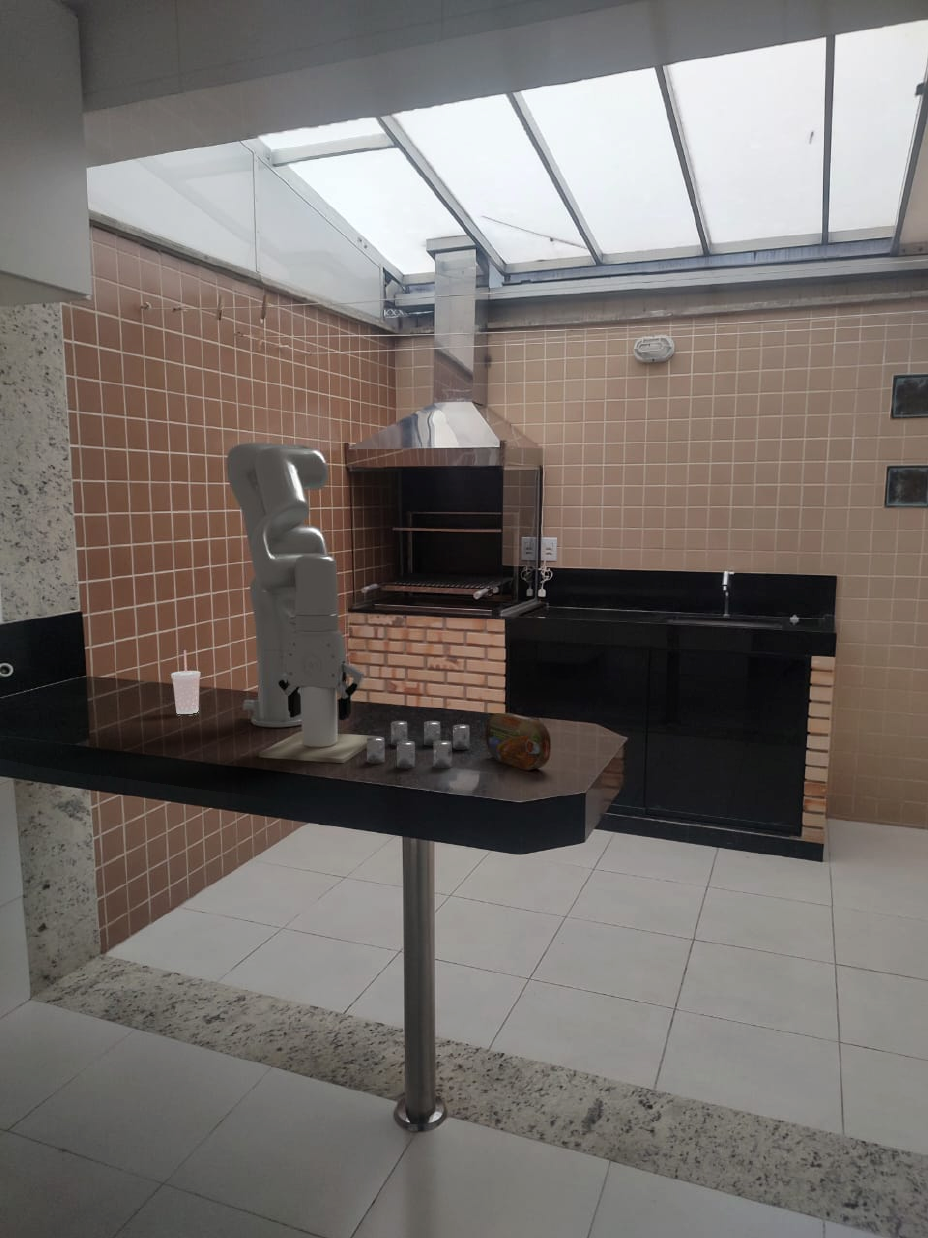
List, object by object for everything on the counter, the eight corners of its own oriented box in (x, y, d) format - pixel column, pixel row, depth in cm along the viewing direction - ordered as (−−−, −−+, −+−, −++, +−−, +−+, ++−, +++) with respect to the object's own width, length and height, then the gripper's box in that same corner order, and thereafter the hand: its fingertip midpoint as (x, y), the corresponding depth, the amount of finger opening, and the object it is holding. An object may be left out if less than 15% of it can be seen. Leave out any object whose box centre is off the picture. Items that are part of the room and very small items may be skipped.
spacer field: (361, 765, 138) (360, 742, 137) (397, 739, 155) (396, 718, 154) (446, 771, 134) (446, 748, 133) (473, 744, 151) (473, 723, 151)
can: (306, 739, 152) (305, 676, 151) (340, 739, 152) (339, 676, 151) (298, 748, 146) (296, 682, 144) (333, 748, 145) (332, 682, 144)
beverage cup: (177, 710, 181) (175, 648, 180) (205, 710, 182) (203, 648, 180) (169, 716, 175) (166, 652, 174) (197, 716, 176) (195, 652, 174)
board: (259, 757, 143) (259, 752, 143) (300, 735, 158) (300, 731, 158) (343, 763, 139) (343, 758, 139) (377, 740, 154) (377, 736, 154)
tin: (484, 756, 143) (483, 709, 143) (498, 753, 145) (498, 706, 144) (539, 776, 131) (539, 725, 130) (554, 773, 133) (554, 722, 132)
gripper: (263, 625, 145) (266, 719, 147) (353, 627, 140) (355, 724, 142) (283, 620, 152) (286, 710, 154) (369, 623, 148) (371, 715, 149)
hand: (319, 717), depth 148 cm, fingers open, 9 cm apart
